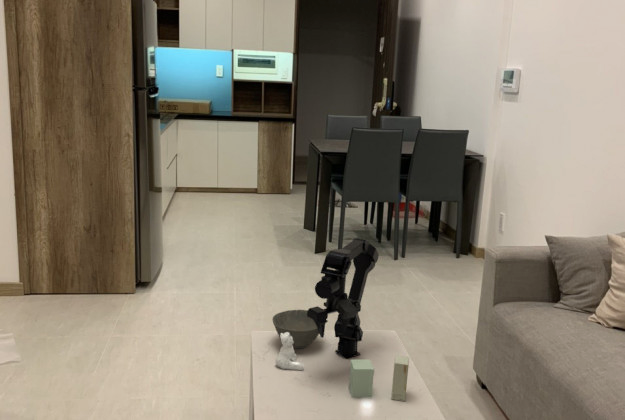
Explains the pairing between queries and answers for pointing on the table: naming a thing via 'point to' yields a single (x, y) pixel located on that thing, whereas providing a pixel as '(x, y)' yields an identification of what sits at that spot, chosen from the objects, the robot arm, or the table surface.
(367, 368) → the mint green pillar
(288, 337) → the white creature statuette
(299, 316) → the bowl
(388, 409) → the table surface
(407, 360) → the skincare box
